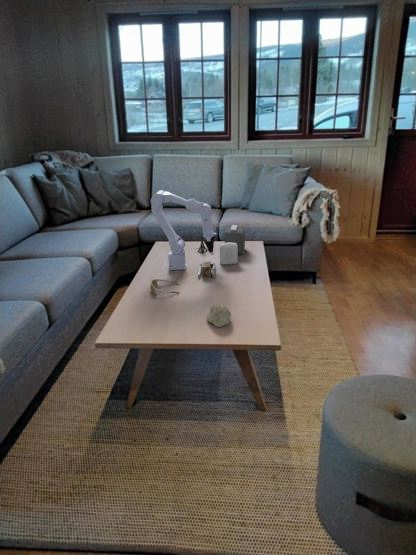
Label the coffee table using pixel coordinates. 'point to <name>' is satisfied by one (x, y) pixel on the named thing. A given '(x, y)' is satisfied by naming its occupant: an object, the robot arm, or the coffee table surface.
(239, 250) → the alarm clock
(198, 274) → the channel
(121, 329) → the coffee table surface
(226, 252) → the photo printer
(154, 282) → the sunglasses
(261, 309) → the coffee table surface
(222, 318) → the decorative item
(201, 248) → the eiffel tower figurine
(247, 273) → the coffee table surface
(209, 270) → the walnut block
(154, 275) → the coffee table surface
